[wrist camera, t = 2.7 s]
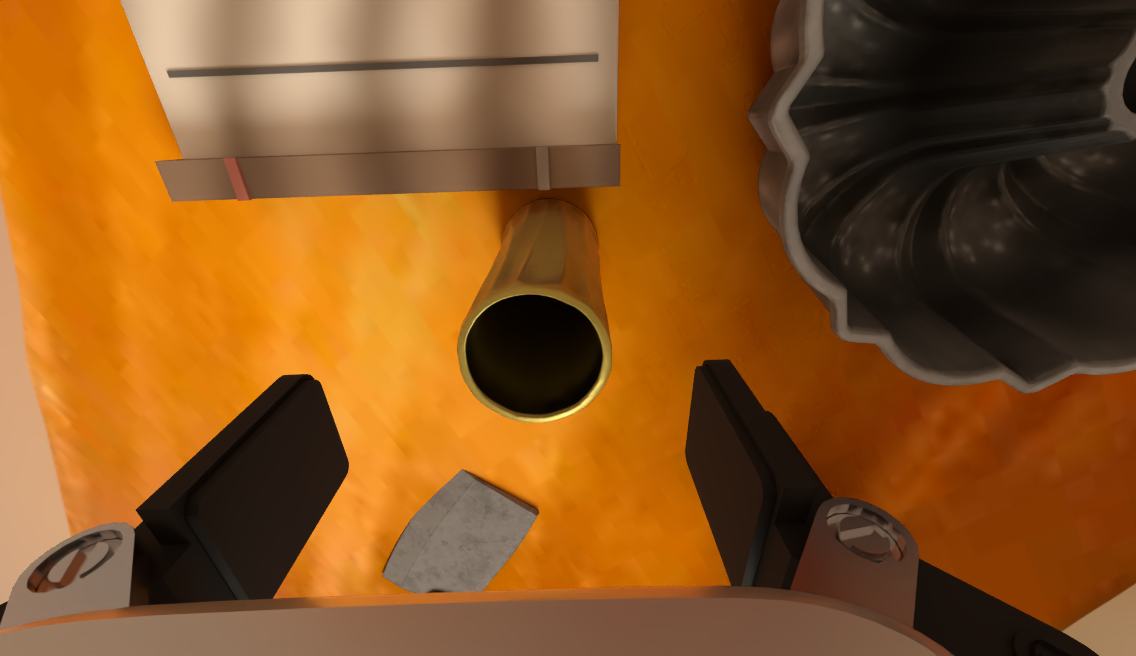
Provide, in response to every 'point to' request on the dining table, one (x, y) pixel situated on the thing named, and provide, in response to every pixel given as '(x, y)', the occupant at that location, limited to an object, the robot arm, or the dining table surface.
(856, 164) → the bundt pan
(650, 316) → the dining table surface
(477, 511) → the cleaver
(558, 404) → the vase
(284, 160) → the fence board
